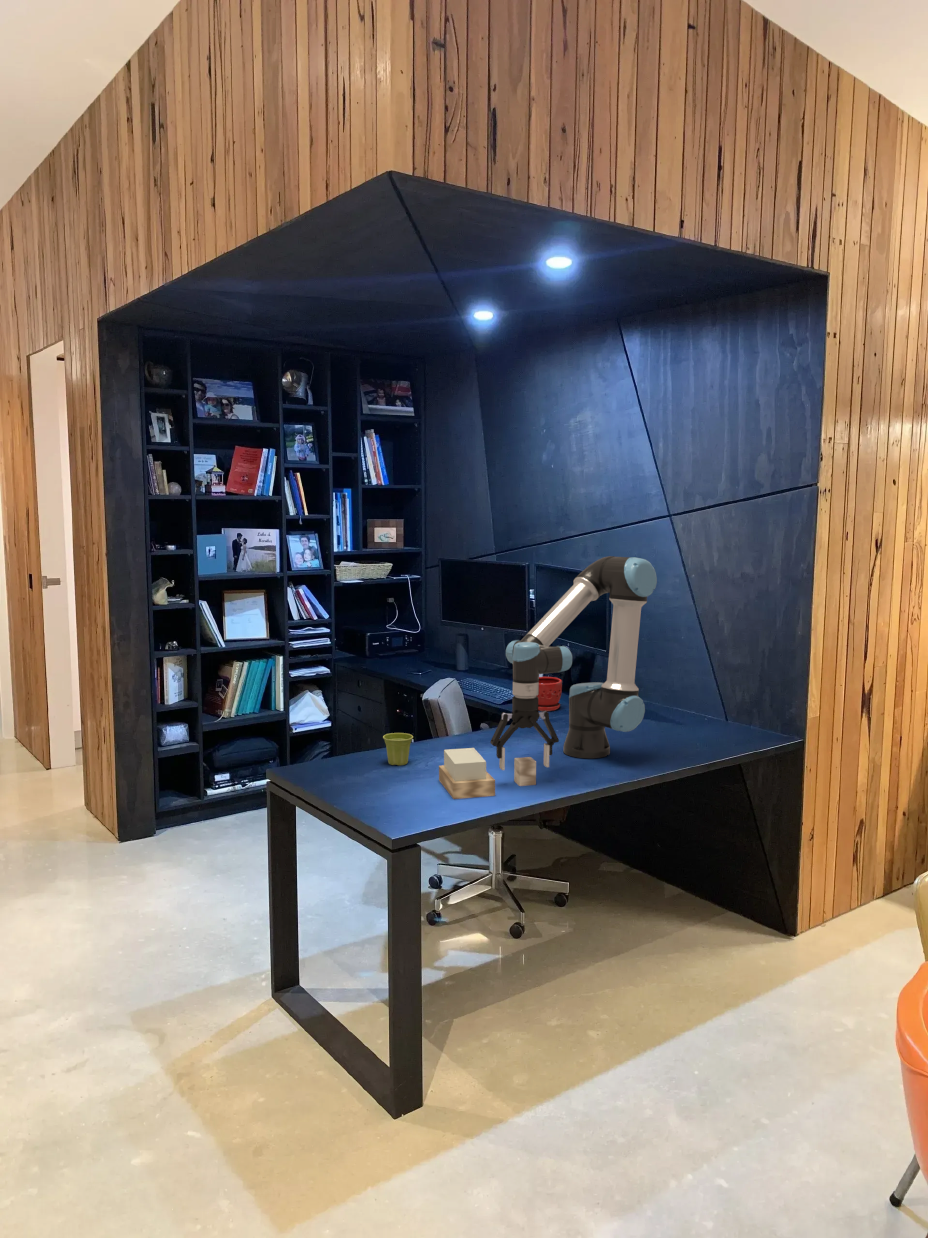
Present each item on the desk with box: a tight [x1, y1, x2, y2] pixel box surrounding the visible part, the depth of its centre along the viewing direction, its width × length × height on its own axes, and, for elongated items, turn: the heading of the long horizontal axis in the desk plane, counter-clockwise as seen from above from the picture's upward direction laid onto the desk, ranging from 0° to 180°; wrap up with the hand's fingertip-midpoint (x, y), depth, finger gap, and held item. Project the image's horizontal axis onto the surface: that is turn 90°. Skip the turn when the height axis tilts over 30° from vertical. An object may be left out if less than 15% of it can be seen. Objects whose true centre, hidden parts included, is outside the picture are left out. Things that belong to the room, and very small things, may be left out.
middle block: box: [443, 747, 487, 781], centre depth 262 cm, size 9×15×5 cm, turn 13°
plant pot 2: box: [537, 676, 563, 712], centre depth 364 cm, size 13×13×12 cm
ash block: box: [513, 756, 537, 787], centre depth 267 cm, size 5×5×7 cm
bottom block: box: [438, 764, 496, 800], centre depth 263 cm, size 12×18×5 cm, turn 14°
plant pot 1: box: [382, 732, 414, 767], centre depth 287 cm, size 9×9×9 cm
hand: (524, 767), depth 266 cm, fingers open, 13 cm apart
